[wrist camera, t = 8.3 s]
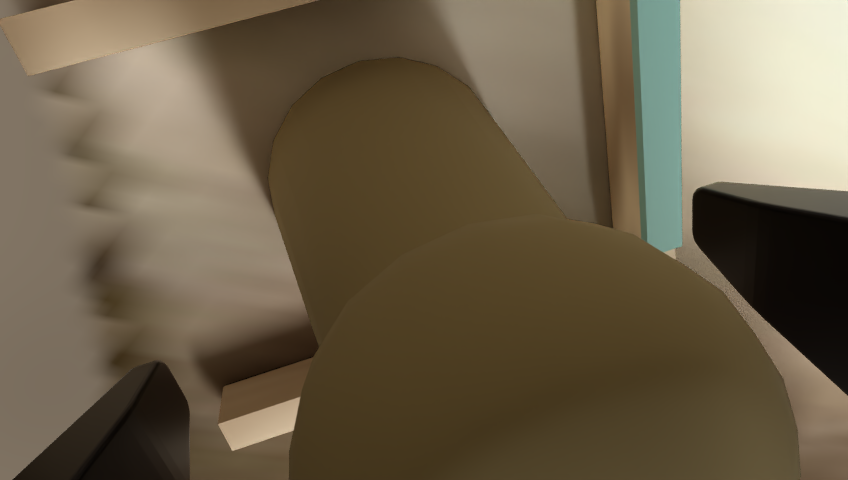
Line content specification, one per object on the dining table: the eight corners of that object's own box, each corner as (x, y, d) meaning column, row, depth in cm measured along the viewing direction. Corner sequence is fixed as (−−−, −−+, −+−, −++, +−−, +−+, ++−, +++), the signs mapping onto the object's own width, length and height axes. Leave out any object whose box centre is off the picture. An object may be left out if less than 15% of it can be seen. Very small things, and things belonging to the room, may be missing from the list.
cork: (403, 320, 16) (581, 834, 7) (216, 203, 14) (52, 770, 4) (547, 159, 15) (1020, 490, 5) (374, -1, 12) (685, 83, 3)
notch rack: (656, 487, 22) (684, 527, 21) (337, 606, 21) (341, 658, 19) (590, -969, 8) (668, -1206, 6) (-430, -877, 7) (-657, -1148, 5)
